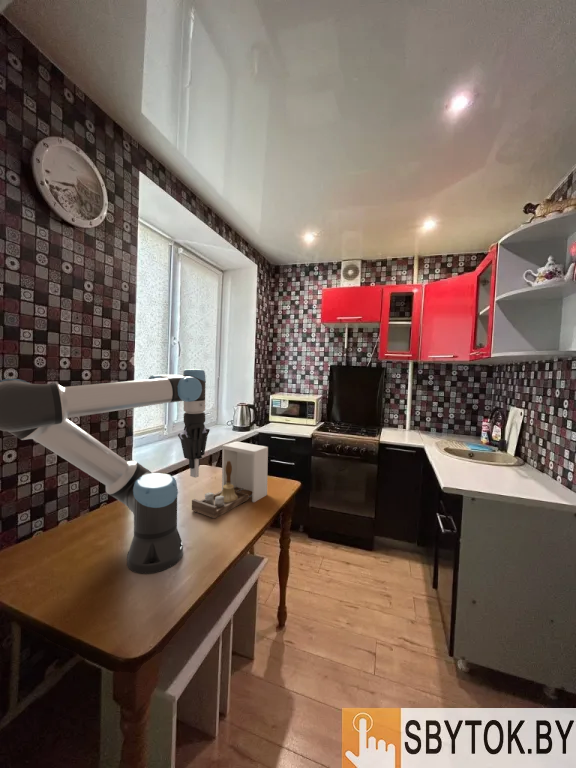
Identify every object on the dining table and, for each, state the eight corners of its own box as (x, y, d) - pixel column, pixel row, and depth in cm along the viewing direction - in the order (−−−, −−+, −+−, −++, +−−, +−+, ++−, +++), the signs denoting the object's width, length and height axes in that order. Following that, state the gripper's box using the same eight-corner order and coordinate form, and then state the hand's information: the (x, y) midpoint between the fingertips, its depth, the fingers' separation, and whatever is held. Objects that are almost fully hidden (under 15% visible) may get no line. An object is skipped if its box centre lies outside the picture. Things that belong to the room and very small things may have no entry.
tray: (214, 518, 115) (214, 505, 115) (191, 510, 121) (191, 497, 121) (248, 499, 132) (248, 487, 132) (227, 493, 139) (227, 482, 138)
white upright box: (220, 521, 114) (221, 463, 113) (186, 509, 123) (187, 455, 122) (267, 494, 139) (267, 446, 138) (235, 486, 148) (236, 441, 147)
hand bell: (242, 498, 131) (242, 460, 130) (227, 504, 124) (227, 465, 124) (228, 493, 136) (229, 457, 135) (213, 499, 129) (214, 461, 129)
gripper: (187, 415, 105) (187, 484, 106) (215, 410, 116) (214, 473, 117) (172, 413, 109) (172, 479, 110) (200, 409, 120) (200, 469, 121)
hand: (194, 476), depth 114 cm, fingers closed
